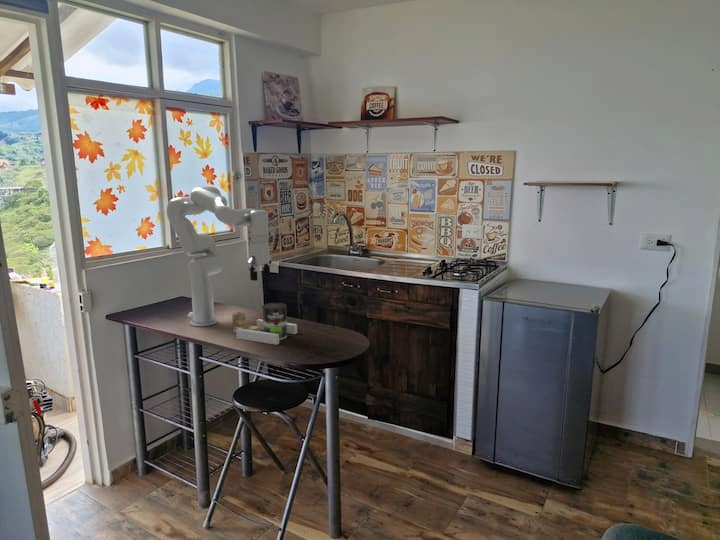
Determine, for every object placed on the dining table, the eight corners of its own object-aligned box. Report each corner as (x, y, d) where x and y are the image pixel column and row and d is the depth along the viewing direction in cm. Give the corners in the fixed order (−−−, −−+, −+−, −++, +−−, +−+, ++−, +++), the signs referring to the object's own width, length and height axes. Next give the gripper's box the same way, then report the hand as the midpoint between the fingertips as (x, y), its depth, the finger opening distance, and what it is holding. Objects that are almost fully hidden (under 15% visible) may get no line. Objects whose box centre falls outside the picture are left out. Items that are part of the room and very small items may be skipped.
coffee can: (288, 339, 212) (288, 307, 209) (264, 341, 209) (263, 309, 207) (285, 332, 222) (285, 301, 219) (262, 334, 219) (261, 303, 216)
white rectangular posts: (236, 338, 213) (236, 329, 212) (259, 327, 229) (259, 319, 228) (276, 344, 206) (276, 335, 205) (297, 332, 221) (297, 324, 220)
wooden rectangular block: (233, 332, 222) (232, 314, 220) (238, 330, 225) (237, 311, 224) (255, 335, 217) (255, 317, 215) (260, 333, 221) (260, 314, 219)
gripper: (263, 236, 222) (264, 273, 225) (240, 240, 206) (241, 281, 209) (277, 237, 219) (278, 275, 222) (255, 242, 203) (256, 282, 206)
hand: (260, 278), depth 216 cm, fingers open, 9 cm apart
